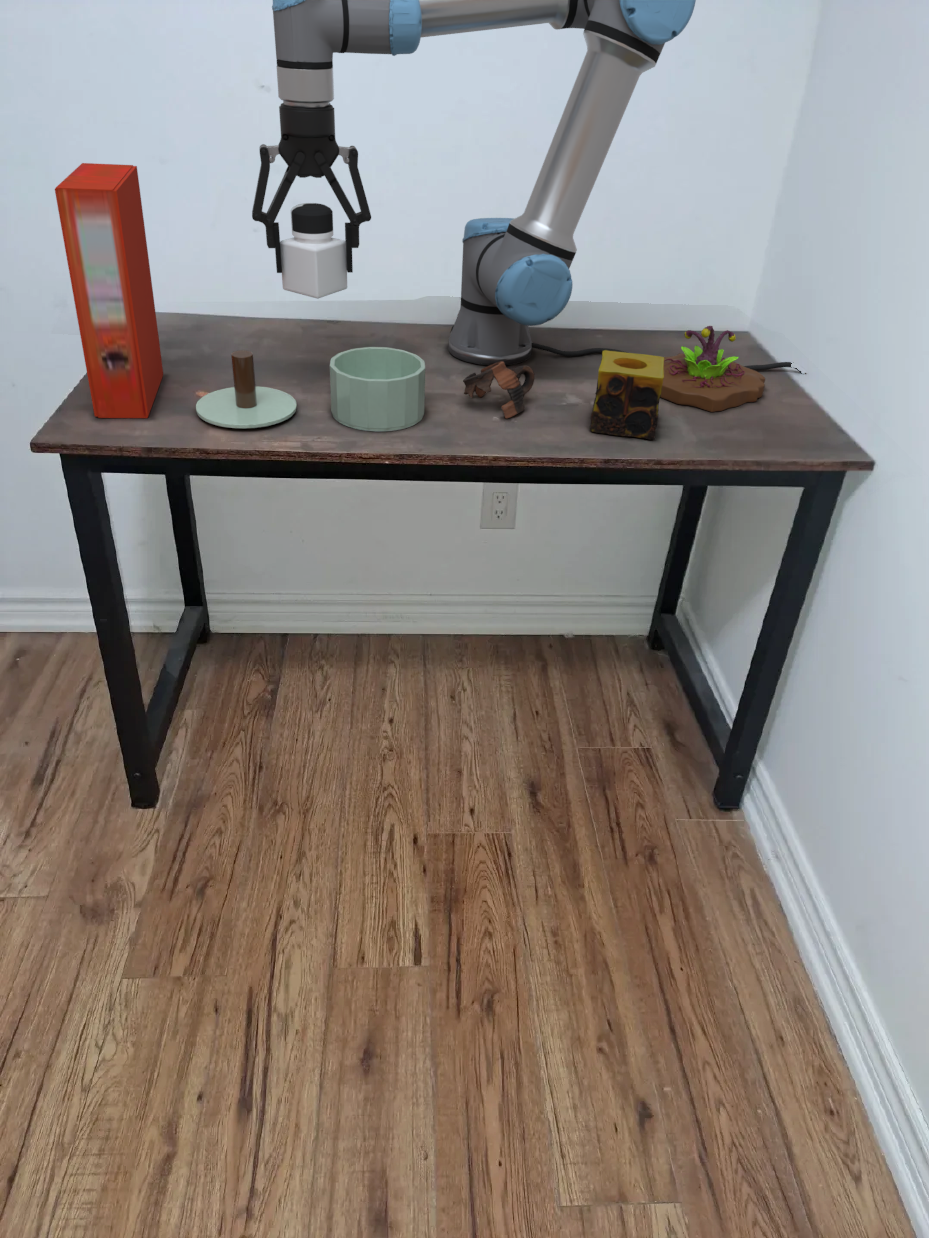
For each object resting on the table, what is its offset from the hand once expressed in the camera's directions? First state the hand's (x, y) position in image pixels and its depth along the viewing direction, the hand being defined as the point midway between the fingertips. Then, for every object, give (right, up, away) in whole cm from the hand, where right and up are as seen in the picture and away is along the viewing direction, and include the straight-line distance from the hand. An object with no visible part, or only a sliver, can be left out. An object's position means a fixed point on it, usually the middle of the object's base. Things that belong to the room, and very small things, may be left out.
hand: (314, 270), depth 142 cm
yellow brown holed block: (+48, -22, +7) cm, 53 cm away
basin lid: (-11, -20, +3) cm, 23 cm away
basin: (+9, -20, +6) cm, 23 cm away
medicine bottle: (0, -2, +2) cm, 3 cm away
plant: (+64, -13, +22) cm, 68 cm away
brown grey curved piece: (+28, -18, +11) cm, 35 cm away
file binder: (-30, -18, +7) cm, 35 cm away
